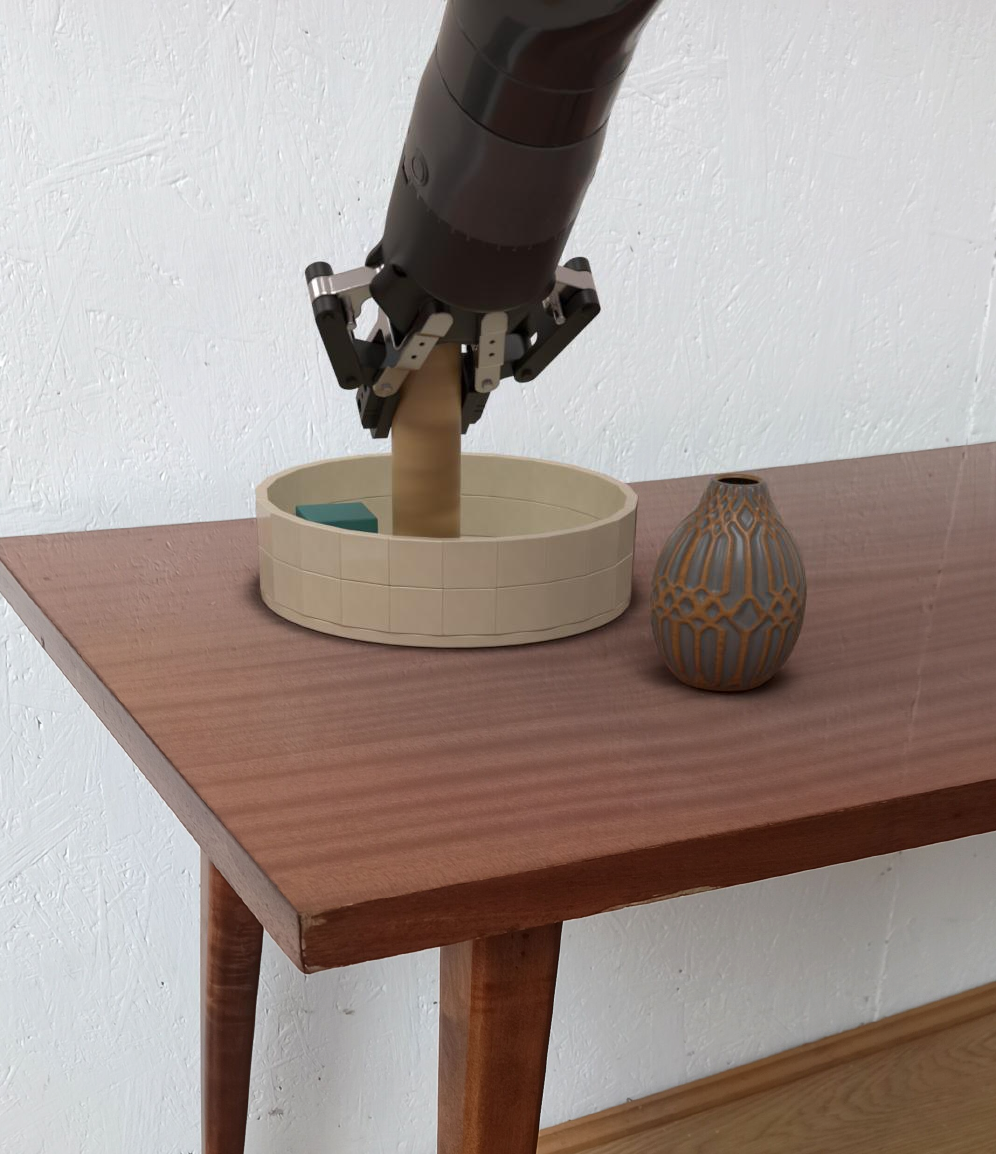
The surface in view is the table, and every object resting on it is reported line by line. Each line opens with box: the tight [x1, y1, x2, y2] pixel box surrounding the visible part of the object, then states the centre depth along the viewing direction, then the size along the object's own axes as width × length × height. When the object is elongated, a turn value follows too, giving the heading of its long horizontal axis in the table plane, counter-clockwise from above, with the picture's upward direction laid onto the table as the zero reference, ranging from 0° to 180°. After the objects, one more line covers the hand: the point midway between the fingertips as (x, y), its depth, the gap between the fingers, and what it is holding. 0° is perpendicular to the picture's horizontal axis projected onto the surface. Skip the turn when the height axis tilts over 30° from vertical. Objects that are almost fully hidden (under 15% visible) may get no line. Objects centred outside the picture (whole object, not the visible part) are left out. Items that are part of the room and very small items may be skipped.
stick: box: [390, 343, 463, 538], centre depth 83 cm, size 3×3×14 cm
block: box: [295, 502, 378, 534], centre depth 87 cm, size 4×4×4 cm
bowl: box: [254, 451, 639, 649], centre depth 88 cm, size 19×19×5 cm
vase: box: [649, 473, 808, 692], centre depth 76 cm, size 7×7×9 cm
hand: (414, 419), depth 85 cm, fingers closed on stick, 3 cm apart
